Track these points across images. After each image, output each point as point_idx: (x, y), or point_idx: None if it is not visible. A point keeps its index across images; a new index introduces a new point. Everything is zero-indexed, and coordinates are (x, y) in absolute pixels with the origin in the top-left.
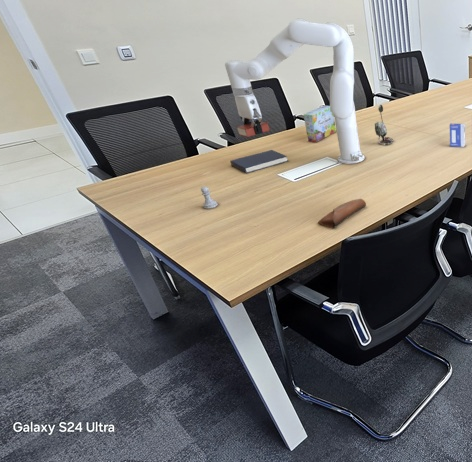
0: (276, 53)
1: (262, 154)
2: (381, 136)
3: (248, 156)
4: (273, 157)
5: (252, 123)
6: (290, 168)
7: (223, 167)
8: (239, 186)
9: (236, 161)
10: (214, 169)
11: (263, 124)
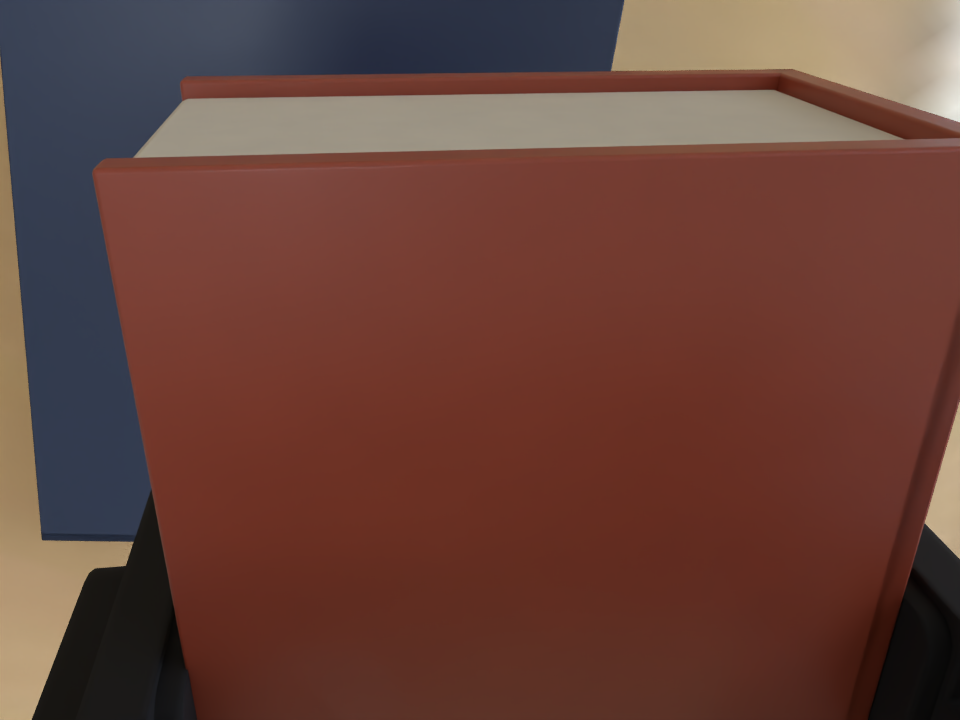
0: None
1: (144, 48)
2: None
3: (53, 275)
4: (490, 34)
5: (312, 663)
6: (898, 51)
7: (35, 571)
8: None
9: None
10: (26, 658)
11: (944, 415)
